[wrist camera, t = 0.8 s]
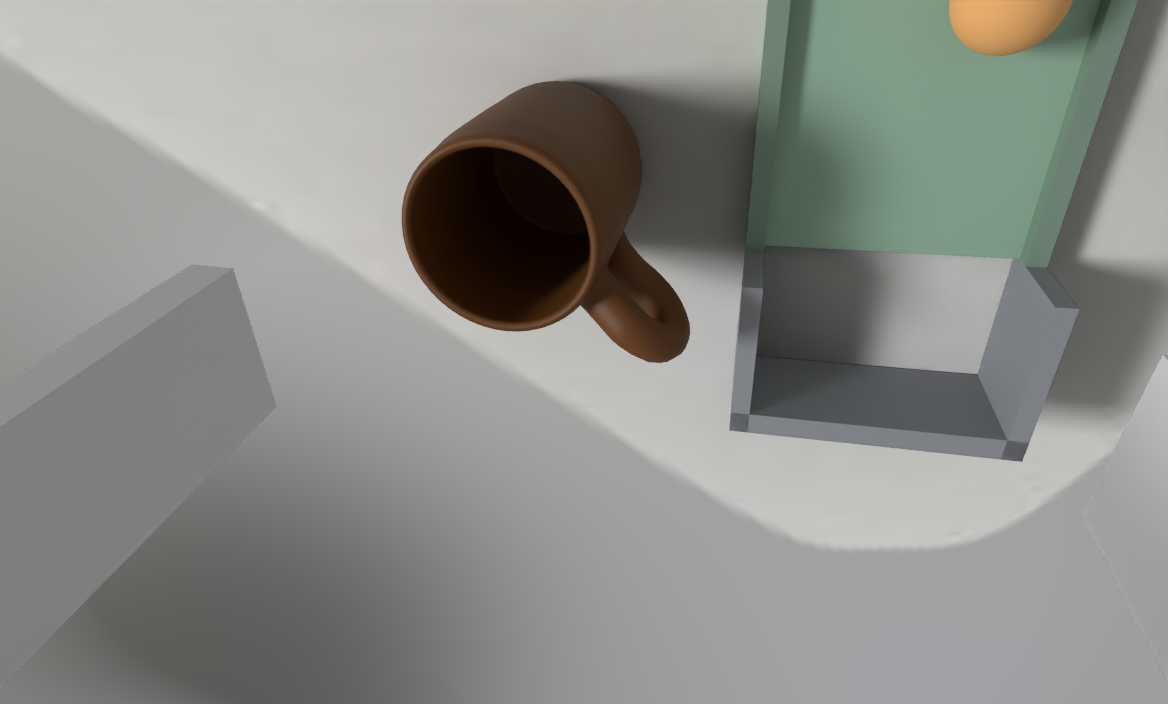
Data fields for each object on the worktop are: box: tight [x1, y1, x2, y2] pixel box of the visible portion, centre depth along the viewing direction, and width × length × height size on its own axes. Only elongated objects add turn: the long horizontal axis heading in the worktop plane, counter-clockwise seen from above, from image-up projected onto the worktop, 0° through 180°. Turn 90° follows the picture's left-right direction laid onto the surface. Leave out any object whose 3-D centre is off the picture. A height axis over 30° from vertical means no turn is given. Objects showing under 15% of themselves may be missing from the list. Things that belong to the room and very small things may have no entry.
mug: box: [402, 81, 690, 363], centre depth 28 cm, size 12×8×9 cm, turn 54°
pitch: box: [730, 0, 1138, 462], centre depth 25 cm, size 28×12×5 cm, turn 2°
